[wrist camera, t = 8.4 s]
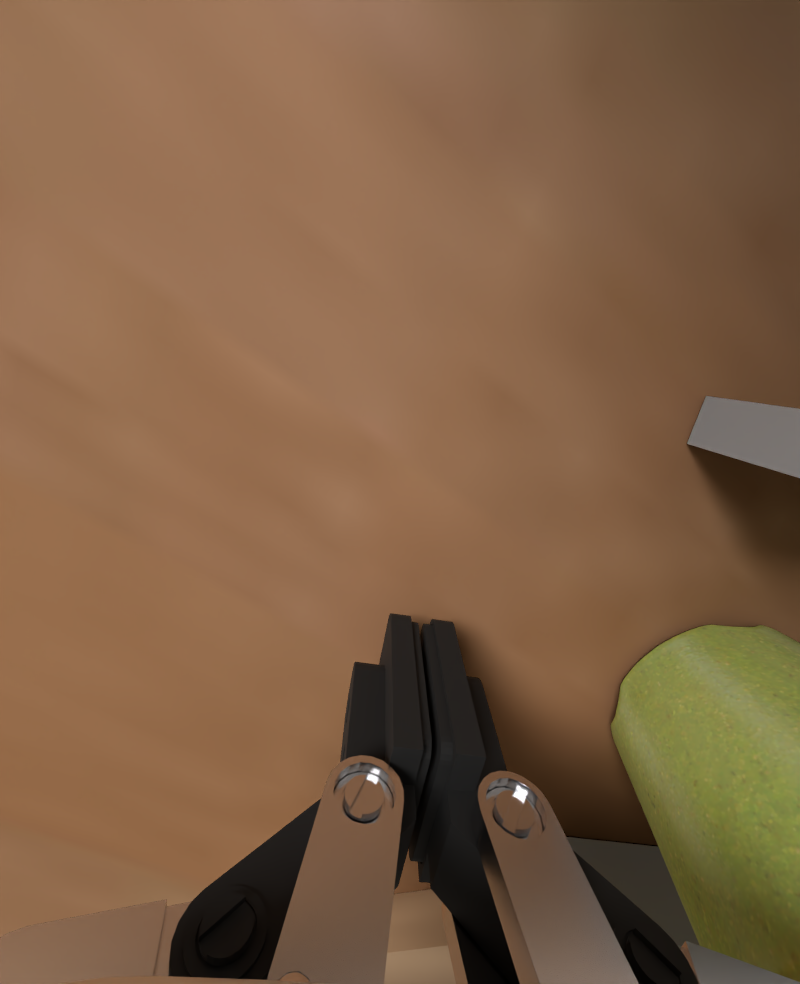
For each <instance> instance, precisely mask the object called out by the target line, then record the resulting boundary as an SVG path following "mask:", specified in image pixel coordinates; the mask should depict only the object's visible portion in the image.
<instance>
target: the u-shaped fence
mask: <svg viewBox="0 0 800 984" xmlns="http://www.w3.org/2000/svg"><path fill="white" fill-rule="evenodd" d="M687 444H689V445H693V446H696V447H699V448H702V449H706V450H709V451H712V452H716V453H719V454H722V455H725V456H729V457H732V458H735V459H738V460H742V461H745V462H748V463H752V464H755V465H758V466H761V467H765V468H768V469H771V470H774V471H778V472H781V473H784V474H787V475H791V476H794V477H797V478H800V409H797V408H790V407H783V406H776V405H768V404H761V403H754V402H747V401H739V400H732V399H725V398H718V397H710V396H706V397H705V400H704V402H703V405H702V407H701V410H700V412H699V415H698V417H697V420H696V422H695V425H694V427H693V430H692V432H691V435H690V437H689V440H688V442H687ZM566 838H567V840H568V842H569V844H570V846H571V848H572V850H574V851H575V852H576V853H577V854H578V855H579V856H580V857H582V858H583V859H584V860H585V861H586V862H587V863H588V864H590V865H591V866H592V867H593V868H594V869H595V870H596V871H598V872H599V873H600V874H601V875H602V876H603V877H604V878H605V879H607V880H608V881H609V882H610V883H611V884H612V885H613V886H615V887H616V888H617V889H618V890H619V891H620V892H621V893H623V894H624V895H625V896H626V897H627V898H628V899H629V900H631V901H632V902H633V903H634V904H635V905H636V906H637V907H639V908H640V909H641V910H642V911H643V912H644V913H645V914H646V915H648V916H649V917H650V918H651V919H652V920H653V921H654V922H656V923H657V924H658V925H659V926H660V927H661V928H662V929H663V930H664V931H665V932H666V933H667V934H668V935H669V936H670V937H671V938H672V939H673V940H674V941H675V943H676V944H677V945H679V946H682V945H683V943H684V942H685V940H686V941H688V942H691V943H694V944H697V945H699V942H698V940H697V938H696V935H695V933H694V930H693V928H692V926H691V923H690V921H689V918H688V916H687V914H686V911H685V909H684V906H683V904H682V902H681V899H680V897H679V895H678V892H677V890H676V887H675V885H674V883H673V880H672V878H671V875H670V873H669V871H668V868H667V866H666V864H665V861H664V859H663V856H662V854H661V852H660V849H659V847H657V846H647V845H638V844H628V843H619V842H610V841H600V840H591V839H581V838H572V837H566ZM699 946H700V945H699Z"/></svg>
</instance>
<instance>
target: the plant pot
mask: <svg viewBox="0 0 800 984" xmlns="http://www.w3.org/2000/svg"><path fill="white" fill-rule="evenodd" d="M611 732H612V736H613V740H614V742H615V745H616V747H617V749H618V752H619V754H620V757H621V759H622V761H623V764H624V766H625V768H626V771H627V773H628V776H629V778H630V780H631V783H632V785H633V787H634V790H635V792H636V794H637V797H638V799H639V802H640V804H641V806H642V809H643V811H644V813H645V816H646V818H647V821H648V823H649V825H650V828H651V830H652V833H653V835H654V837H655V840H656V842H657V844H658V847H659V849H660V852H661V854H662V856H663V859H664V861H665V864H666V866H667V868H668V871H669V873H670V875H671V878H672V880H673V883H674V885H675V887H676V890H677V892H678V895H679V897H680V899H681V902H682V904H683V906H684V909H685V911H686V914H687V916H688V918H689V921H690V923H691V926H692V928H693V930H694V933H695V935H696V938H697V940H698V942H699V945H700V946H702V947H705V948H708V949H710V950H713V951H716V952H719V953H721V954H724V955H727V956H730V957H732V958H735V959H738V960H741V961H743V962H746V963H749V964H752V965H754V966H757V967H760V968H763V969H765V970H768V971H771V972H773V973H776V974H779V975H782V976H784V977H787V978H790V979H793V980H795V981H798V982H800V643H799V642H797V641H795V640H793V639H791V638H790V637H788V636H786V635H784V634H782V633H780V632H779V631H777V630H774V629H772V628H769V627H766V626H763V625H759V626H755V627H732V626H720V625H705V626H701V627H697V628H694V629H691V630H688V631H686V632H684V633H681V634H679V635H677V636H674V637H672V638H671V639H669V640H667V641H665V642H664V643H662V644H660V645H659V646H657V647H656V648H654V649H653V650H652V651H651V652H649V653H648V654H647V655H646V656H644V657H643V658H642V659H641V660H640V661H639V662H638V663H637V664H636V665H635V666H634V667H633V668H632V669H631V671H630V672H629V673H628V674H627V675H626V677H625V678H624V680H623V682H622V683H621V686H620V693H619V700H618V706H617V709H616V715H615V717H614V720H613V721H612V723H611Z"/></svg>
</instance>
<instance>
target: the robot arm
mask: <svg viewBox="0 0 800 984" xmlns="http://www.w3.org/2000/svg"><path fill="white" fill-rule="evenodd" d="M408 848H409V857H410V860H411V861H417V862H418V869H419V882H428V883H430V885H431V889H432V891H433V892H434V893H435V894H436V895H437V897H438V898H439V899H440V900H441V901H442V907H441V909H442V920H443V925H444V930H445V934H446V939H447V944H448V949H449V953H450V958H451V963H452V967H453V972H454V977H455V981H456V984H800V982H798V981H795V980H793V979H790V978H787V977H784V976H782V975H779V974H776V973H773V972H771V971H768V970H765V969H763V968H760V967H757V966H754V965H752V964H749V963H746V962H743V961H741V960H738V959H735V958H732V957H730V956H727V955H724V954H721V953H719V952H716V951H713V950H710V949H708V948H705V947H702V946H699V945H697V944H694V943H691V942H688V941H686V940H685V942H684V943H683V945H682V946H679V945H677V944H676V943H675V941H674V940H673V939H672V938H671V937H670V936H669V935H668V934H667V933H666V932H665V931H664V930H663V929H662V928H661V927H660V926H659V925H658V924H657V923H656V922H654V921H653V920H652V919H651V918H650V917H649V916H648V915H646V914H645V913H644V912H643V911H642V910H641V909H640V908H639V907H637V906H636V905H635V904H634V903H633V902H632V901H631V900H629V899H628V898H627V897H626V896H625V895H624V894H623V893H621V892H620V891H619V890H618V889H617V888H616V887H615V886H613V885H612V884H611V883H610V882H609V881H608V880H607V879H605V878H604V877H603V876H602V875H601V874H600V873H599V872H598V871H596V870H595V869H594V868H593V867H592V866H591V865H590V864H588V863H587V862H586V861H585V860H584V859H583V858H582V857H580V856H579V855H578V854H577V853H576V852H575V851H574V850H572V848H571V846H570V844H569V842H568V840H567V838H566V836H565V834H564V832H563V830H562V828H561V826H560V824H559V821H558V819H557V817H556V815H555V813H554V811H553V809H552V807H551V805H550V804H549V802H548V801H547V799H546V797H545V796H544V794H543V793H542V792H541V791H540V790H539V789H538V788H537V787H536V786H535V785H534V784H533V783H532V782H530V781H529V780H527V779H526V778H524V777H523V776H520V775H518V774H515V773H513V772H508V771H507V769H506V766H505V762H504V759H503V755H502V752H501V748H500V745H499V741H498V738H497V734H496V731H495V727H494V724H493V720H492V717H491V713H490V710H489V706H488V703H487V699H486V696H485V692H484V689H483V685H482V683H481V680H480V679H479V678H476V677H468V676H466V672H465V668H464V664H463V660H462V656H461V652H460V648H459V644H458V640H457V636H456V631H455V627H454V624H453V622H448V621H441V620H434V619H432V620H431V622H430V625H429V624H423V626H422V630H421V634H419V625H418V623H415V622H412V621H411V616H406V615H399V614H391V613H390V615H389V619H388V624H387V629H386V634H385V638H384V643H383V648H382V653H381V658H380V663H379V665H375V664H368V663H360V662H355V663H354V667H353V672H352V677H351V683H350V689H349V695H348V701H347V708H346V715H345V724H344V733H343V742H342V751H341V760H340V763H339V764H338V765H337V766H336V767H335V768H334V769H333V770H332V771H331V773H330V775H329V777H328V779H327V781H326V785H325V788H324V791H323V795H322V798H321V799H320V800H318V801H317V802H316V803H315V804H313V805H312V806H311V807H309V808H308V809H307V810H306V811H304V812H303V813H302V814H300V815H299V816H298V817H297V818H295V819H294V820H293V821H291V822H290V823H289V824H288V825H286V826H285V827H284V828H282V829H281V830H280V831H279V832H277V833H276V834H275V835H273V836H272V837H271V838H270V839H268V840H267V841H266V842H264V843H263V844H262V845H261V846H259V847H258V848H257V849H255V850H254V851H253V852H252V853H250V854H249V855H248V856H246V857H245V858H244V859H243V860H241V861H240V862H239V863H237V864H236V865H235V866H234V867H232V868H231V869H230V870H228V871H227V872H226V873H225V874H223V875H222V876H221V877H219V878H218V879H217V880H216V881H214V882H213V883H212V884H210V885H209V886H208V887H207V888H205V889H204V890H203V891H202V892H201V893H200V894H199V895H198V896H197V897H196V898H195V899H194V900H193V901H192V902H187V903H181V904H176V905H171V906H167V899H166V900H161V901H155V902H150V903H145V904H140V905H134V906H129V907H124V908H119V909H114V910H108V911H103V912H98V913H93V914H87V915H82V916H77V917H72V918H66V919H61V920H56V921H51V922H45V923H40V924H35V925H30V926H26V927H23V928H20V929H18V930H15V931H12V932H9V933H7V934H5V935H3V936H2V937H0V984H384V977H385V968H386V959H387V950H388V941H389V932H390V923H391V914H392V905H393V896H394V890H395V889H396V888H397V887H398V884H399V881H400V877H401V873H402V870H403V866H404V863H405V859H406V855H407V852H408Z"/></svg>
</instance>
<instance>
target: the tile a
mask: <svg viewBox="0 0 800 984" xmlns="http://www.w3.org/2000/svg"><path fill="white" fill-rule="evenodd" d="M441 907H442V901H441V900H440V899H439V898H438V897H437V895H436V894H435V893H434V892H433V891H432V889H429V890H421V891H414V892H406V893H398V894H394V896H393V905H392V914H391V923H390V932H389V941H388V950H387V959H386V968H385V977H384V984H456V981H455V977H454V972H453V967H452V963H451V958H450V953H449V949H448V944H447V939H446V934H445V930H444V925H443V920H442V909H441Z"/></svg>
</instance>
